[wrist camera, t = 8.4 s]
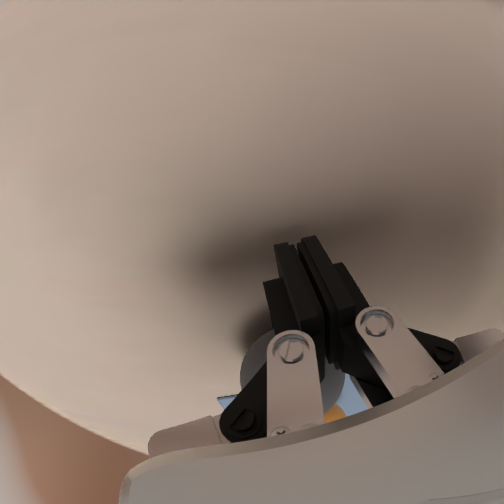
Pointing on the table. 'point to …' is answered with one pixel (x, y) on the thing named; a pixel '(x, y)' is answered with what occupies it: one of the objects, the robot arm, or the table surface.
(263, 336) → the gray ball
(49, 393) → the table surface
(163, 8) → the table surface
